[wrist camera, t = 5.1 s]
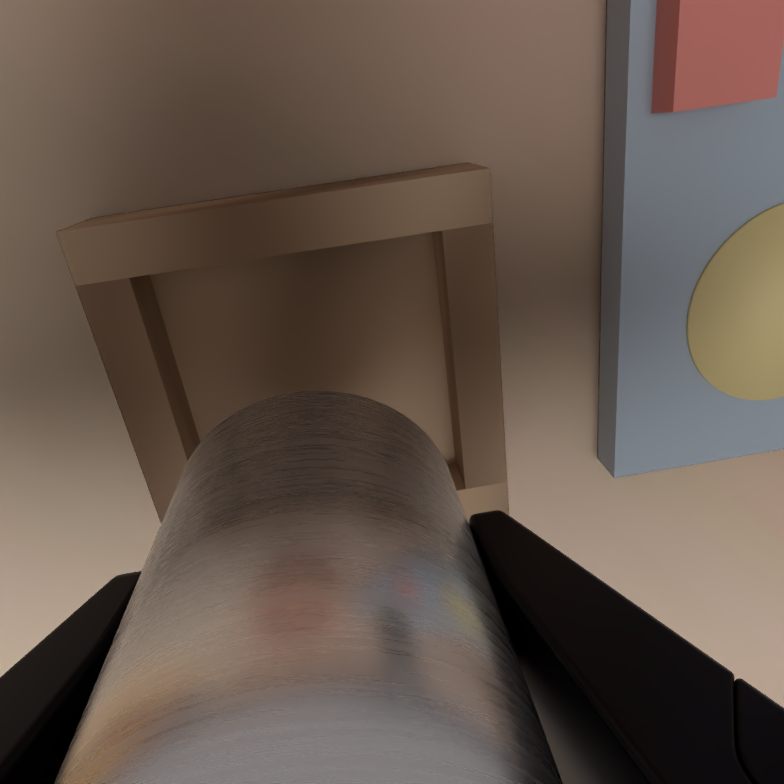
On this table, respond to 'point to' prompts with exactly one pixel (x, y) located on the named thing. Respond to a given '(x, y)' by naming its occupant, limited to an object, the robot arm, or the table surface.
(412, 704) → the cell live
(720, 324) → the blue grey board
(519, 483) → the table surface
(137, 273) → the brown wooden tray
